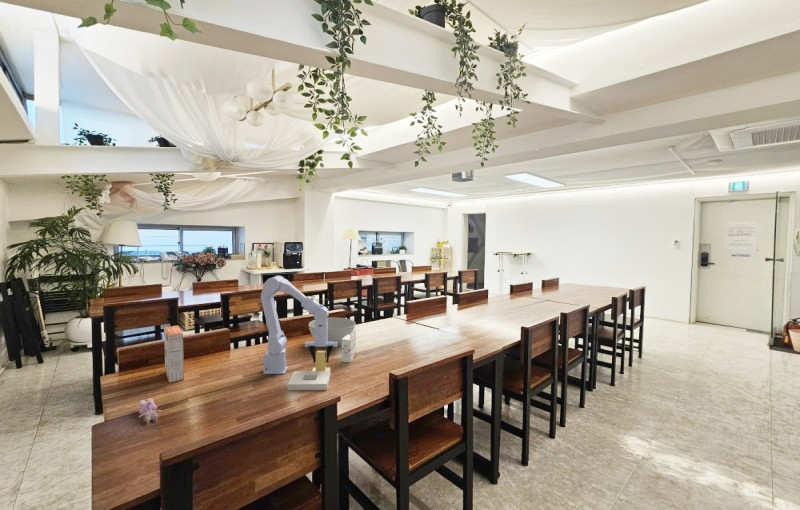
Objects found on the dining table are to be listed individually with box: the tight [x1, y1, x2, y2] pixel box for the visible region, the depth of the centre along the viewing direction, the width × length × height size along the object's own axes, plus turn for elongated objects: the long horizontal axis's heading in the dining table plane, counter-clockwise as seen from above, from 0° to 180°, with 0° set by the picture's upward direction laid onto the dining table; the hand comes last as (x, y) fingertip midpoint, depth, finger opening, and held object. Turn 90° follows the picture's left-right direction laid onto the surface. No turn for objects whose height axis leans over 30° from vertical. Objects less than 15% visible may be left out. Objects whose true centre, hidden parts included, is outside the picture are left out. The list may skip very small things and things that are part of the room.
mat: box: [311, 366, 332, 371], centre depth 161 cm, size 8×8×1 cm
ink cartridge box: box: [341, 329, 357, 363], centre depth 177 cm, size 9×5×15 cm, turn 168°
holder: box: [287, 370, 332, 391], centre depth 149 cm, size 16×13×2 cm
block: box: [315, 350, 327, 371], centre depth 161 cm, size 4×4×9 cm
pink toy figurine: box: [138, 397, 162, 425], centre depth 120 cm, size 6×6×15 cm
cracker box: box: [163, 325, 185, 384], centre depth 151 cm, size 14×6×21 cm, turn 39°
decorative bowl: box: [307, 317, 356, 347], centre depth 201 cm, size 27×27×12 cm
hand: (321, 361), depth 161 cm, fingers open, 5 cm apart
